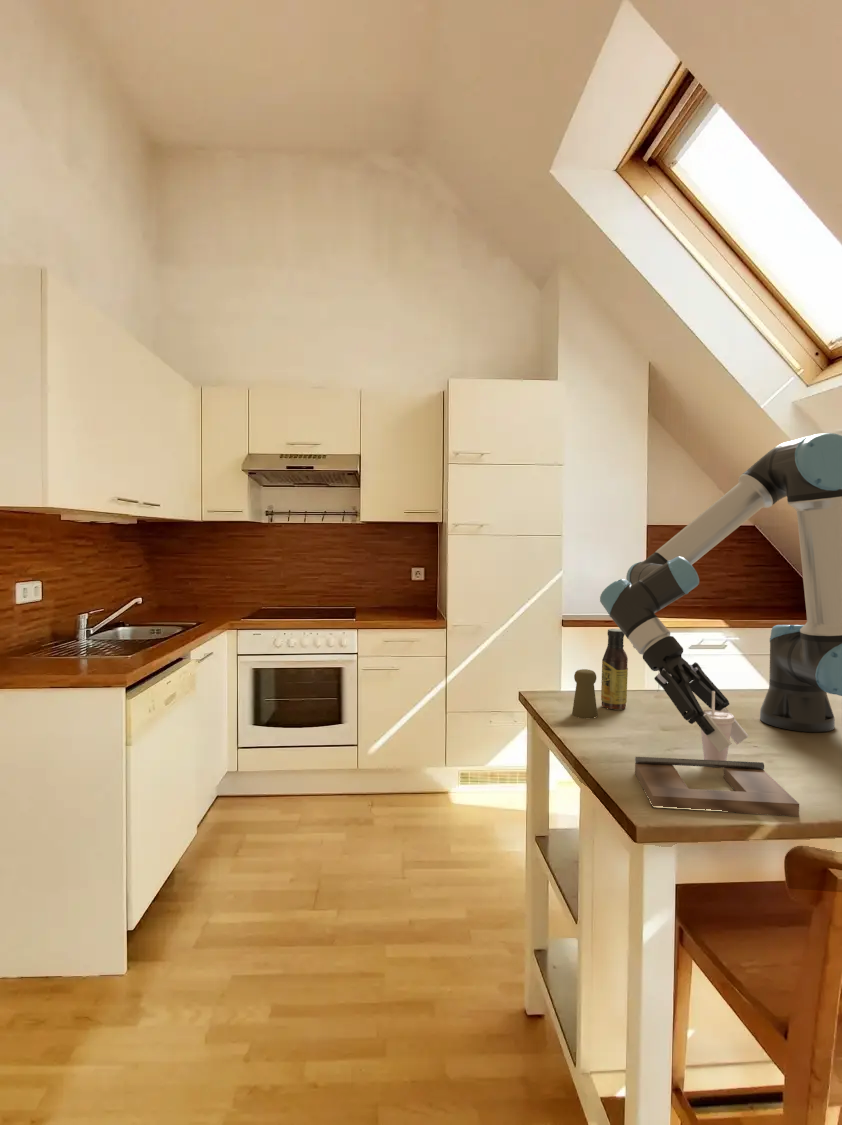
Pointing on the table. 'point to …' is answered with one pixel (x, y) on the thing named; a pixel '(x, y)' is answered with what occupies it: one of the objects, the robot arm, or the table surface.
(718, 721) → the smoothie
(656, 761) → the hook bar
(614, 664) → the sauce bottle
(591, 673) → the cork
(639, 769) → the slot board
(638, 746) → the table surface
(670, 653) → the robot arm
